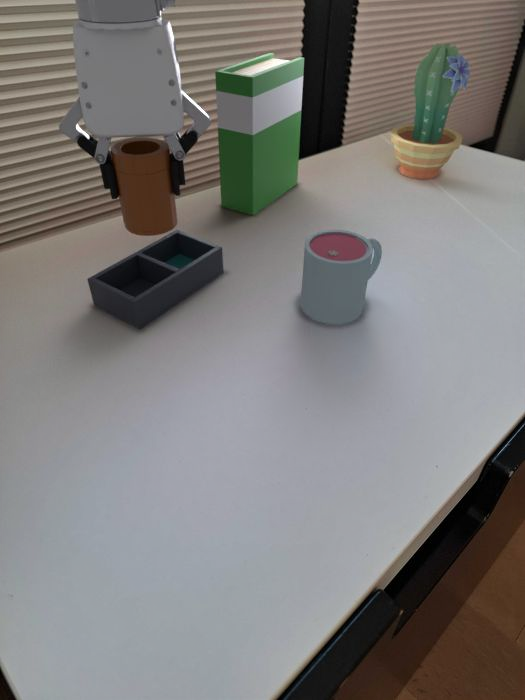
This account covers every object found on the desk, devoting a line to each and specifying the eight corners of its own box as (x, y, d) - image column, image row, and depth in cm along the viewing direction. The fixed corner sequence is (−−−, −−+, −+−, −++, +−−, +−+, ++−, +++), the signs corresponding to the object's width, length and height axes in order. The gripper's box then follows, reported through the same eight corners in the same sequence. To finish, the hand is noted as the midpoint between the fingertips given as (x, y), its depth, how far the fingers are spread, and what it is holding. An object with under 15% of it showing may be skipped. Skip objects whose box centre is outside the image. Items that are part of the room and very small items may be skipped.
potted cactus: (389, 184, 109) (413, 51, 93) (379, 157, 121) (399, 36, 105) (461, 185, 109) (498, 53, 93) (444, 159, 121) (474, 37, 104)
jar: (114, 225, 60) (98, 149, 54) (152, 207, 64) (141, 134, 58) (150, 241, 58) (138, 162, 52) (188, 221, 61) (180, 145, 55)
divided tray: (94, 306, 75) (87, 278, 72) (179, 255, 86) (176, 229, 83) (139, 330, 70) (134, 302, 67) (223, 273, 82) (222, 246, 79)
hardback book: (267, 176, 112) (269, 52, 96) (297, 184, 109) (304, 57, 93) (221, 206, 100) (215, 71, 85) (252, 215, 97) (252, 77, 82)
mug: (329, 332, 70) (337, 271, 64) (288, 301, 76) (291, 241, 70) (397, 299, 77) (410, 240, 70) (354, 272, 82) (362, 215, 76)
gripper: (210, -2, 50) (219, 176, 62) (28, 0, 48) (73, 183, 60) (215, 9, 45) (224, 202, 56) (11, 12, 43) (64, 211, 55)
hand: (146, 191), depth 58 cm, fingers closed on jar, 6 cm apart
